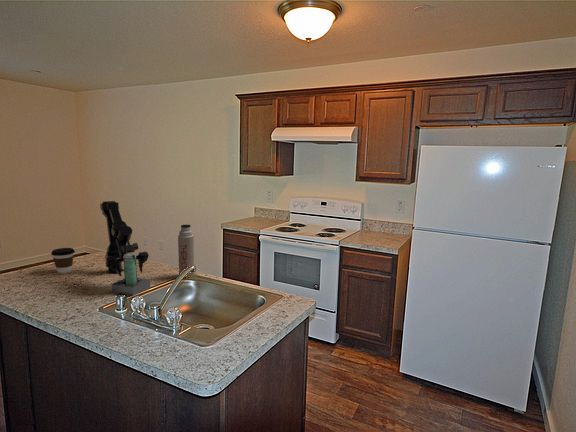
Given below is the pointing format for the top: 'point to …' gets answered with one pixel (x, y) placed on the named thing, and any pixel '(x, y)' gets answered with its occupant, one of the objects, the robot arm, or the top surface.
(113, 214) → the robot arm
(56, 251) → the coffee cup
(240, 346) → the top surface
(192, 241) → the thermos bottle
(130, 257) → the spray can
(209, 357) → the top surface
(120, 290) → the collar
